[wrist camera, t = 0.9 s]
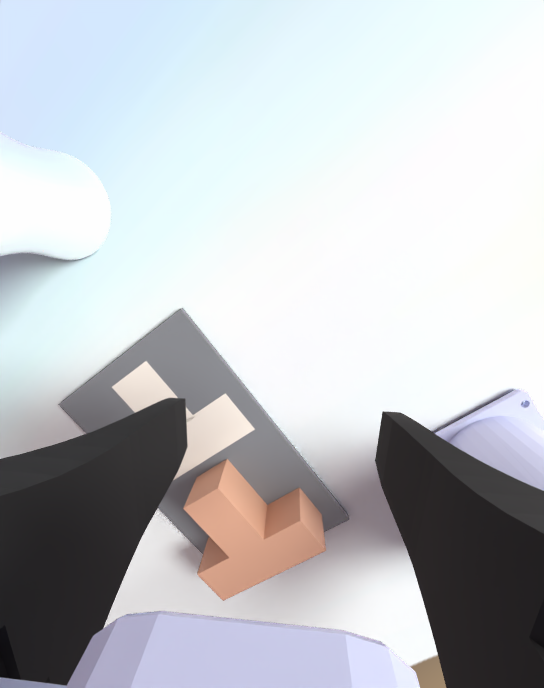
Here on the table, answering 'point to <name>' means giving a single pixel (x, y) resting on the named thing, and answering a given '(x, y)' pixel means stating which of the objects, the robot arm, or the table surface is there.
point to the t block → (250, 530)
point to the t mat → (200, 420)
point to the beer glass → (49, 203)
